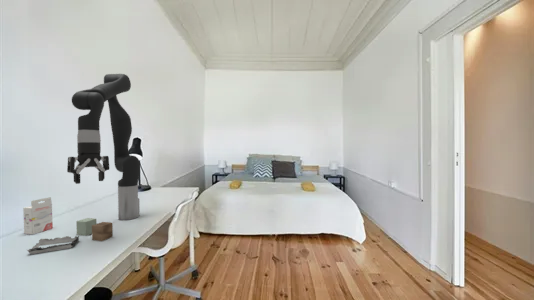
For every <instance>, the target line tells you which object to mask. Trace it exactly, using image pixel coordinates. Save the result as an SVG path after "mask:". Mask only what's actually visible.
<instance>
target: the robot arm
mask: <svg viewBox="0 0 534 300" xmlns="http://www.w3.org/2000/svg"><path fill="white" fill-rule="evenodd" d="M131 86H132V84H131V80H130V78H129V75H127V74H125V73H107V74H105V75H104V76H103V83H100V84H98V85H96V86H93V87H92V88H89V89H88V88H87V89H84V90H83V89H82V90H79V91H76V92H75V93H73V95H72V97H71V103H72V106H73V107H74V108H75V109H77V110H82V111H89V112H88V113H87V114H83V115H80V116H79V117H78V118H77V135H76V137H77V138H76V139H77V145H76V146H77V156H68V157H67V170H66V171H67V173H69V174H73V182H74V183H75V184H76V185H77V184H78V185H79V184H81V171H82V170H84V169H85V168H95V169H97V171H98V175H97V176H98V181H99V182H104V180H105V177H106V176H105V175H106V174H105V172H106V171H108V170H109V171H110V160H109V156H108V155H101V152H102V151H101V146H102V145H101V141H102V140H101V133H100V120H101V117H102V113H103V110H104V106H105V102H107V103H108V109H109V118H110V119H109V120H110V126H111V127H110V128H111V132H112V133H111V135H112V142H113V150H114V151H113V153H114V158H113V159H114V167H115V169H116V171H118V172H120V173H122V177H121V179H119V180H118V182H117V200H118V201H117V204H118V205H117V209H118V210H117V211H118V214H117V215H118V216H117V217H118V220H121V221H127V220H129V221H130V220H134V219H136V218H139V216H140V214H141V213H140V197H139V180H140V178H141V177H140V176H141V175H140V173H141V163H140V159H139V158H138V157H137V156H135V155H130V152H129V143H130V139H131V136H132V133H133V127H132V119H131V116H130V115H129V112H127V110H125V108H124V107H123V106H122V104H121V103H120V101H119V100H118V97H117V95H120V94H122V93H127V92H129V91H130V90H131ZM101 161H102V164H101ZM76 162H78V163H77V165H76V166H75V164H76Z"/></svg>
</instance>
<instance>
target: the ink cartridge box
mask: <svg viewBox="0 0 534 300" xmlns="http://www.w3.org/2000/svg"><path fill="white" fill-rule="evenodd" d="M30 202H31V205H30V206H23V210H22V211H23V233H24V235H35V234H40V233H43V232H45V231H48V230H52V229H53V228H54V227H53V203H52V197H45V198H39V199H35V200H34V199H33V200H30Z"/></svg>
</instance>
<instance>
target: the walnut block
mask: <svg viewBox="0 0 534 300" xmlns="http://www.w3.org/2000/svg"><path fill="white" fill-rule="evenodd" d="M113 226H114V225H113V222H110V221H109V222H108V221H101V222H99V223H96V224H95V225H92V234H91V241H97V242H103V241H106V240H108V239H110V238H114V237H113V233H114V230H113Z"/></svg>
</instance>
